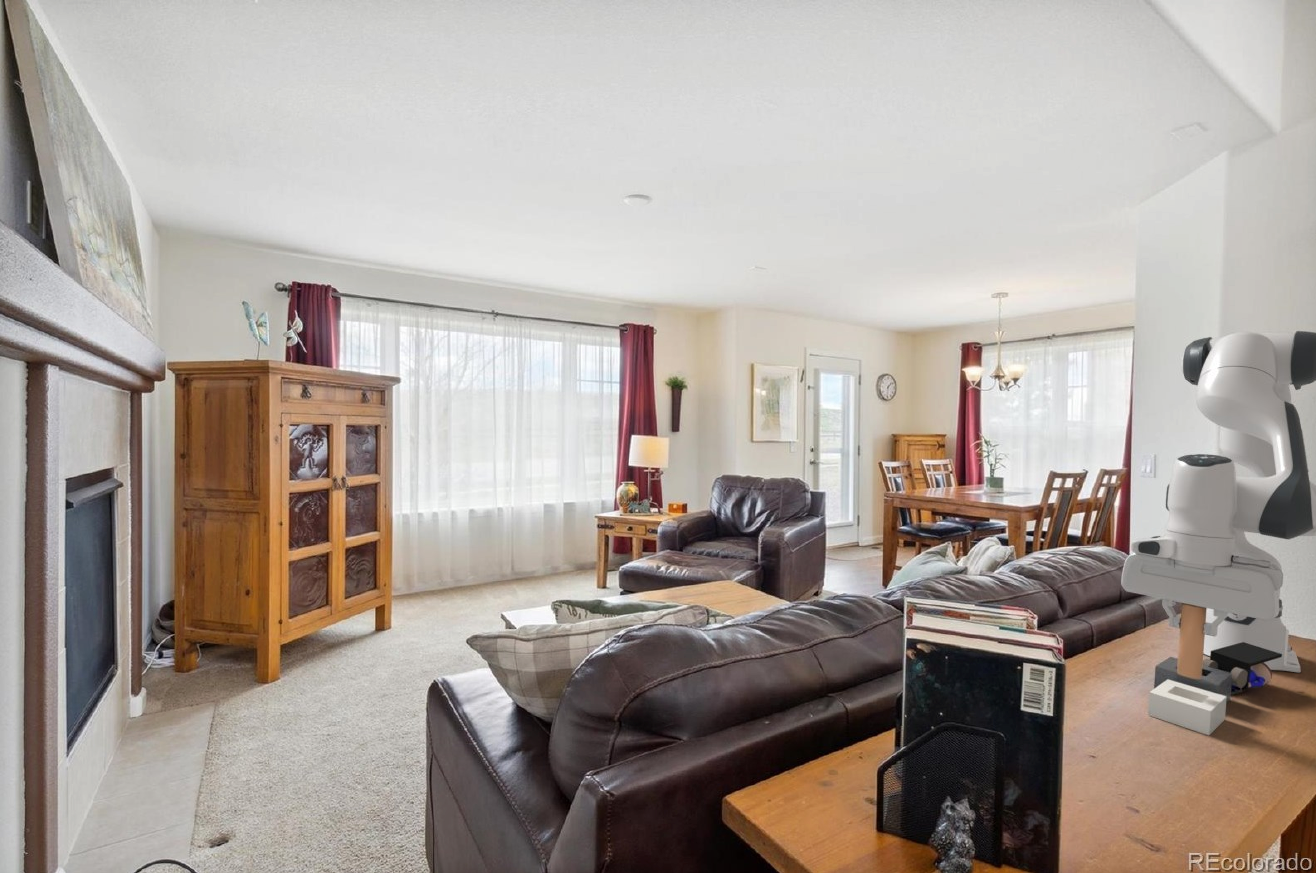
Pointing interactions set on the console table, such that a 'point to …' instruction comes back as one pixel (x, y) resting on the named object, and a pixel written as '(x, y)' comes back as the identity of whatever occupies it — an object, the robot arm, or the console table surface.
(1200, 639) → the pin
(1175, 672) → the block
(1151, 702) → the socket block
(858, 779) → the console table surface
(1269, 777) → the console table surface
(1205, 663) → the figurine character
